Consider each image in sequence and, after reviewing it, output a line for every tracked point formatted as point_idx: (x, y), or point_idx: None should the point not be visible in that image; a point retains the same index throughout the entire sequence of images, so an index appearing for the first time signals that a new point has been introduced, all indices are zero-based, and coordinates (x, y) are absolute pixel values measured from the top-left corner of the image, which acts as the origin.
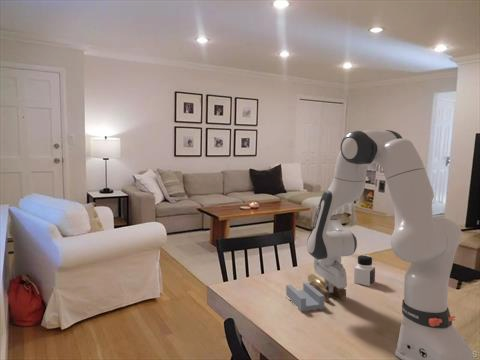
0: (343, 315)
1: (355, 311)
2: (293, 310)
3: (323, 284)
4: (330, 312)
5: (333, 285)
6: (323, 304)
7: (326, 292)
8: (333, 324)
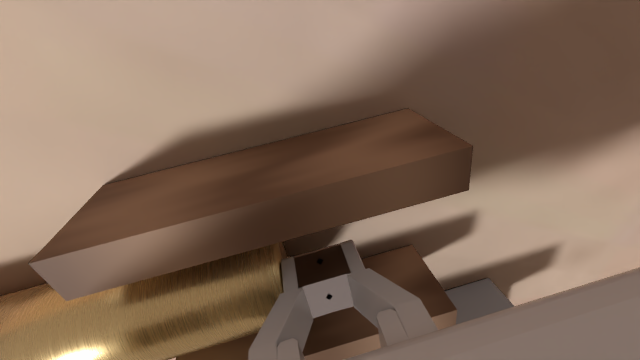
0: (601, 198)
1: (611, 104)
2: None
3: (248, 334)
4: (536, 254)
5: (405, 300)
6: (508, 304)
7: (455, 324)
8: (633, 258)
